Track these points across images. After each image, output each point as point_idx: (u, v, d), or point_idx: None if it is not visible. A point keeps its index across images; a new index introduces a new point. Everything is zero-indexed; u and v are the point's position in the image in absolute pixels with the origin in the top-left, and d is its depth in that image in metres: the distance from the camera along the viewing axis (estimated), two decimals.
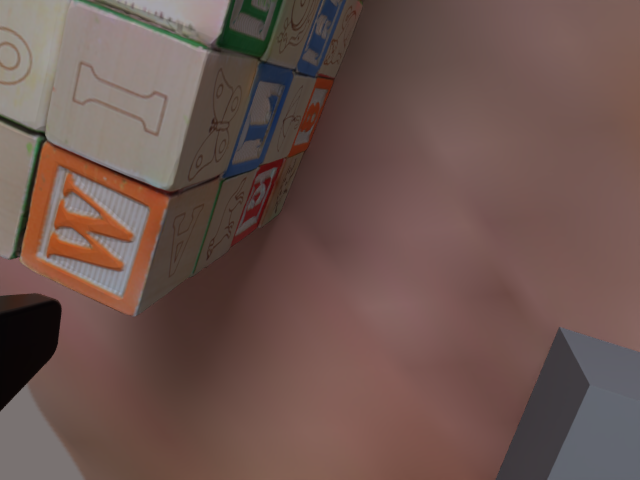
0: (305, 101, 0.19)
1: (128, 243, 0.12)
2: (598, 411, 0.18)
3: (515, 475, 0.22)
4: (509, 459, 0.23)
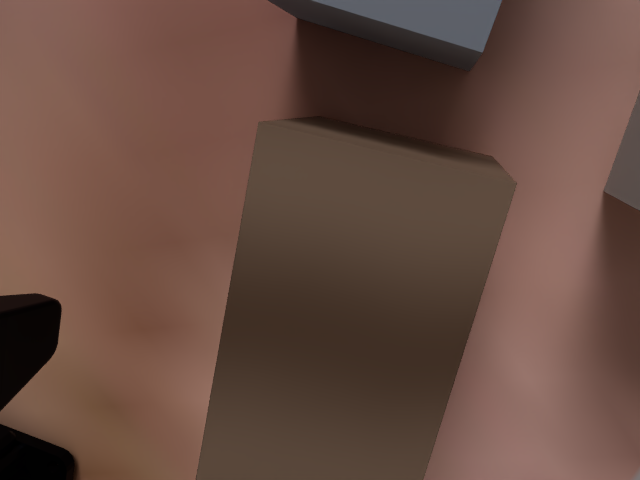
0: None
1: None
2: None
3: None
4: None
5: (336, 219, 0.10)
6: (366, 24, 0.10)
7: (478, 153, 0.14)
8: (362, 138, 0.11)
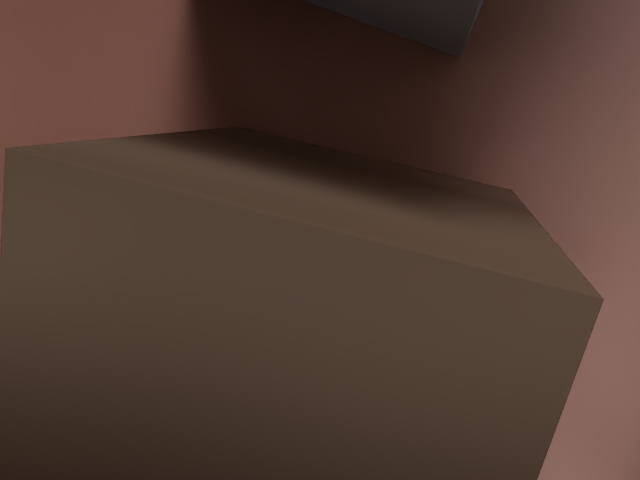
0: None
1: None
2: None
3: None
4: None
5: (186, 364, 0.04)
6: None
7: (489, 186, 0.08)
8: (264, 174, 0.05)
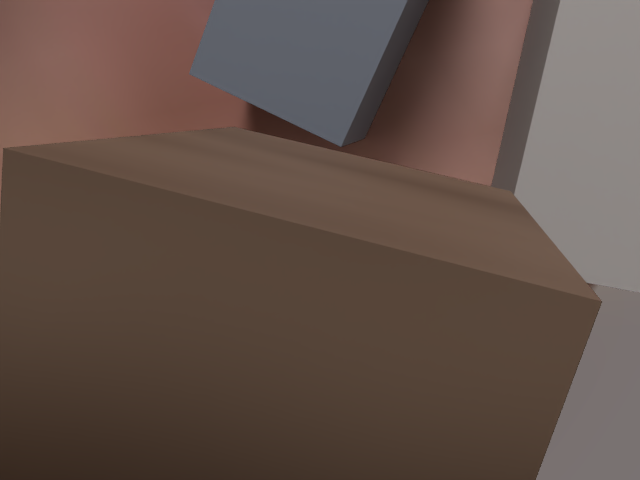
0: None
1: None
2: None
3: None
4: None
5: (185, 364, 0.04)
6: None
7: (488, 187, 0.08)
8: (263, 175, 0.05)
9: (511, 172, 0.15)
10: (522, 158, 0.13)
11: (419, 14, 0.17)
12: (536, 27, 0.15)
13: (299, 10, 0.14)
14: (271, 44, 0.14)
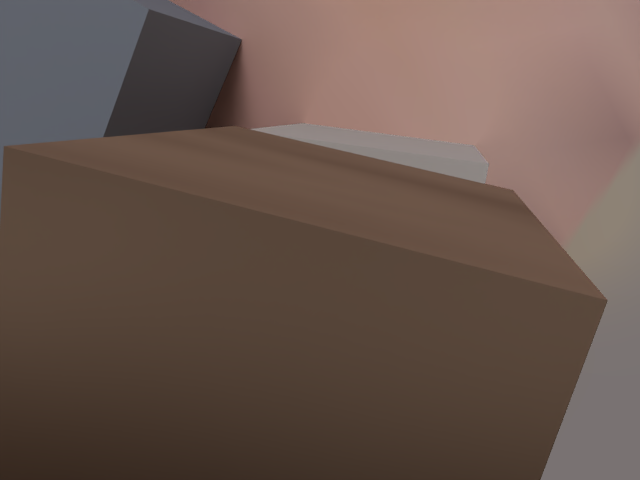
0: None
1: None
2: None
3: None
4: None
5: (187, 365, 0.04)
6: None
7: (490, 186, 0.08)
8: (265, 173, 0.05)
9: None
10: None
11: None
12: None
13: None
14: None
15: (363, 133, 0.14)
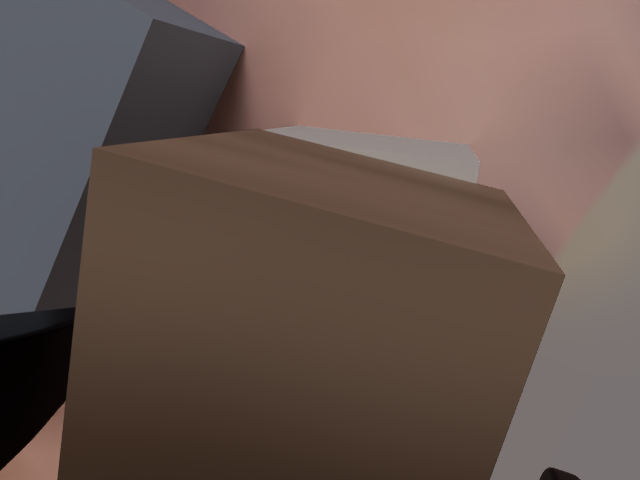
0: None
1: None
2: None
3: None
4: None
5: (235, 323, 0.05)
6: None
7: (484, 186, 0.09)
8: (294, 172, 0.06)
9: None
10: None
11: None
12: None
13: None
14: None
15: (356, 134, 0.13)
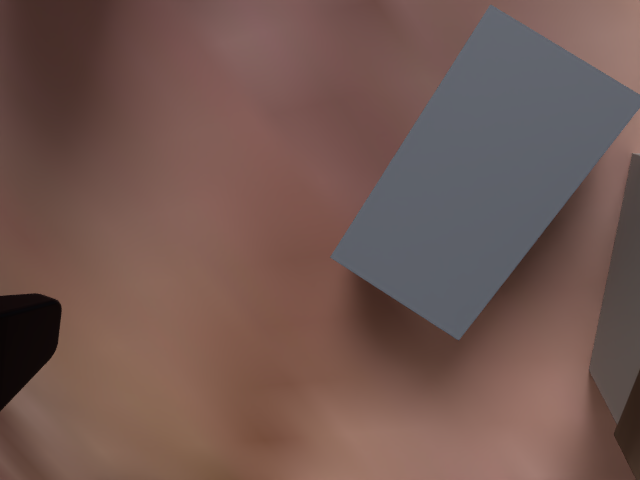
0: None
1: None
2: (490, 44, 0.14)
3: None
4: None
5: None
6: None
7: None
8: None
9: (632, 357, 0.16)
10: None
11: None
12: None
13: (441, 225, 0.15)
14: (410, 247, 0.16)
15: None
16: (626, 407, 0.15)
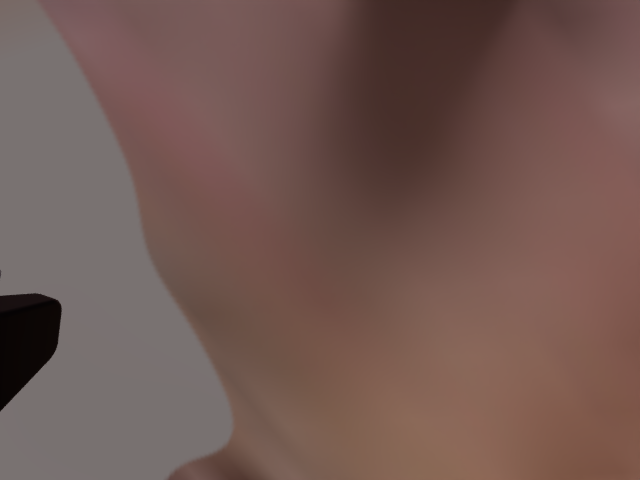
0: None
1: None
2: None
3: None
4: None
5: None
6: None
7: None
8: None
9: None
10: None
11: None
12: None
13: None
14: None
15: None
16: None
